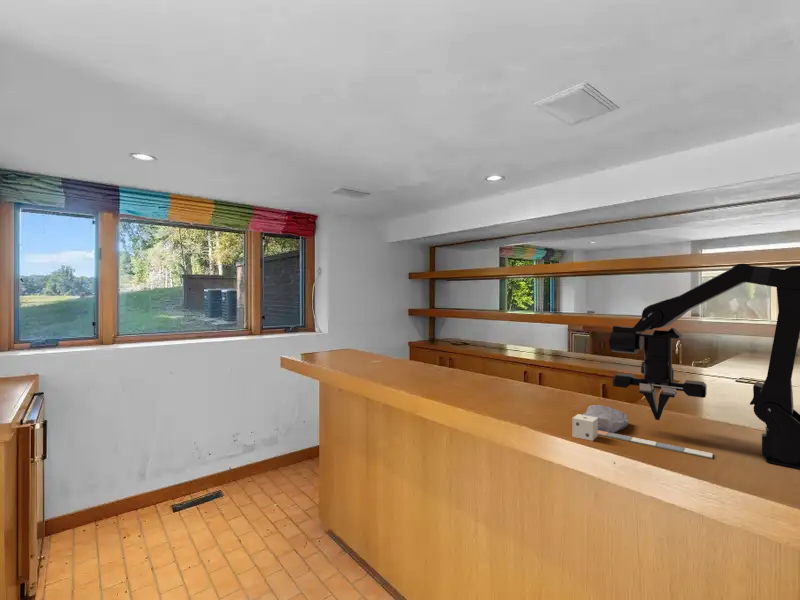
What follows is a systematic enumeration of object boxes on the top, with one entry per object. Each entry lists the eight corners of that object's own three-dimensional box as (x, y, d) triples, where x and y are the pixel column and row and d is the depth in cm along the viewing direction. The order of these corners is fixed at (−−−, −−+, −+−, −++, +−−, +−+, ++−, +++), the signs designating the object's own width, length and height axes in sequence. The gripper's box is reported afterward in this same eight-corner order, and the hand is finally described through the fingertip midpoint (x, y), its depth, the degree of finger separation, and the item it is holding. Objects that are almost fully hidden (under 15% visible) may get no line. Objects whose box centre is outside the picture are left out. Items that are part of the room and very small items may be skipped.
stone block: (627, 430, 106) (587, 416, 112) (631, 413, 106) (590, 400, 111) (622, 444, 96) (579, 428, 102) (627, 426, 96) (583, 411, 101)
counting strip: (713, 454, 84) (713, 453, 84) (712, 458, 82) (712, 457, 82) (587, 429, 101) (587, 427, 101) (583, 431, 98) (583, 430, 98)
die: (597, 436, 96) (597, 417, 96) (592, 441, 92) (592, 421, 92) (577, 432, 98) (577, 413, 98) (572, 436, 95) (572, 417, 95)
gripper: (707, 355, 97) (707, 419, 97) (622, 349, 109) (621, 406, 109) (705, 361, 89) (705, 431, 89) (612, 353, 101) (612, 415, 101)
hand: (657, 419), depth 97 cm, fingers closed
